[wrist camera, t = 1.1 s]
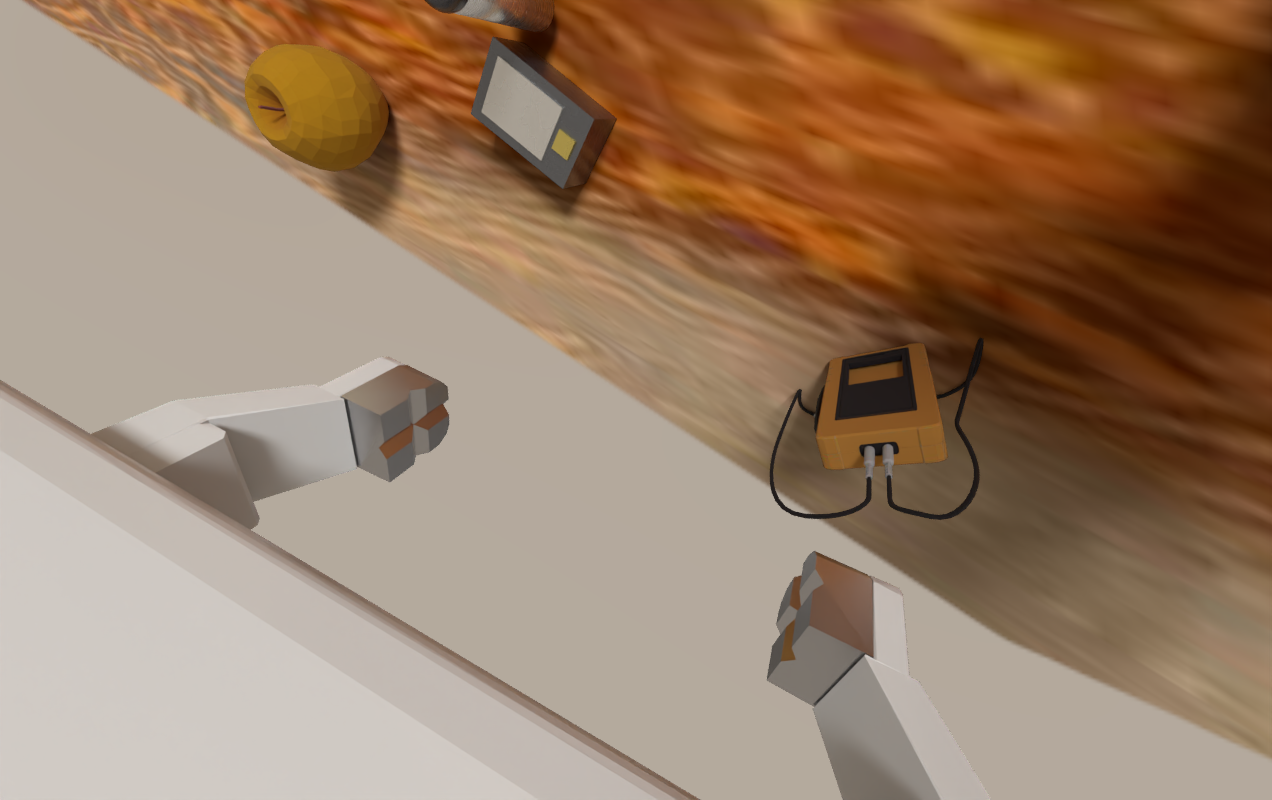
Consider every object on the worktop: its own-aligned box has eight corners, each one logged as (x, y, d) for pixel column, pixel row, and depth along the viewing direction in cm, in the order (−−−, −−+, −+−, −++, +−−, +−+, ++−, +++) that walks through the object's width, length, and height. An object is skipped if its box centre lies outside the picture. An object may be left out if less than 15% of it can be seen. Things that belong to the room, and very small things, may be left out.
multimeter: (813, 455, 47) (783, 626, 31) (787, 365, 44) (738, 507, 28) (995, 438, 40) (1075, 653, 24) (981, 328, 36) (1063, 495, 20)
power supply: (523, 42, 39) (491, 36, 36) (616, 118, 39) (593, 119, 36) (500, 113, 43) (469, 113, 40) (585, 183, 43) (561, 189, 40)
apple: (410, 181, 51) (306, 196, 41) (339, 137, 52) (222, 142, 42) (418, 79, 45) (300, 70, 35) (338, 31, 46) (202, 11, 36)
